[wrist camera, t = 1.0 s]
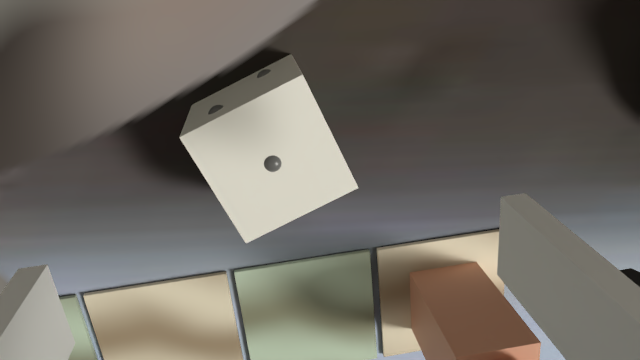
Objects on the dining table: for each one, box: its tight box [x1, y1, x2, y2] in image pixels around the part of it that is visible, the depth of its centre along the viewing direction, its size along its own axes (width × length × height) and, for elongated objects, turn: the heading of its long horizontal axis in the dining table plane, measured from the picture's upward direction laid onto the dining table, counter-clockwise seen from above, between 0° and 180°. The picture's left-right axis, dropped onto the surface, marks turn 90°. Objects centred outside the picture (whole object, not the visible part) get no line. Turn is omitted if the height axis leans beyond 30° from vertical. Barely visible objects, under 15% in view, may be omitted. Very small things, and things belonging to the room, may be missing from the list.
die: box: [179, 54, 358, 243], centre depth 26 cm, size 6×6×6 cm
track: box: [59, 229, 504, 360], centre depth 33 cm, size 8×36×1 cm, turn 95°
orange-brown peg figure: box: [410, 262, 541, 360], centre depth 29 cm, size 4×4×12 cm
